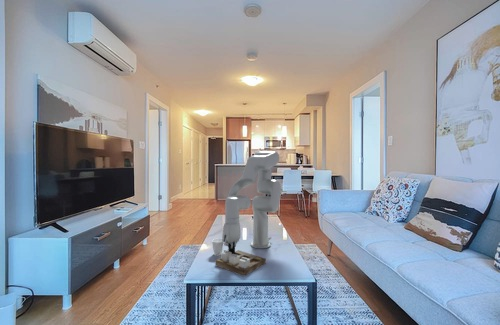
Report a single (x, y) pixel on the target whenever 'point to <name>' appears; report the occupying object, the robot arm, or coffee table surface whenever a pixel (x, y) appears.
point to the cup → (218, 246)
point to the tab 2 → (244, 262)
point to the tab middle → (234, 259)
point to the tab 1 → (225, 255)
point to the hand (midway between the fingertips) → (231, 254)
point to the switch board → (254, 263)
